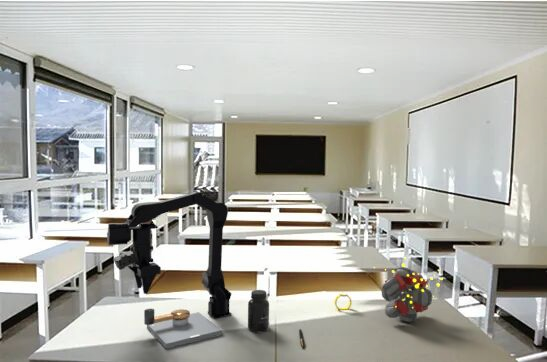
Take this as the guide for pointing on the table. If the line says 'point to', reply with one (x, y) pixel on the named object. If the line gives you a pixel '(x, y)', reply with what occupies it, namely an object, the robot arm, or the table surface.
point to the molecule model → (406, 294)
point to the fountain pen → (301, 339)
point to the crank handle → (164, 316)
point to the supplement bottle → (258, 311)
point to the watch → (343, 296)
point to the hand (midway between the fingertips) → (142, 290)
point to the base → (184, 330)
